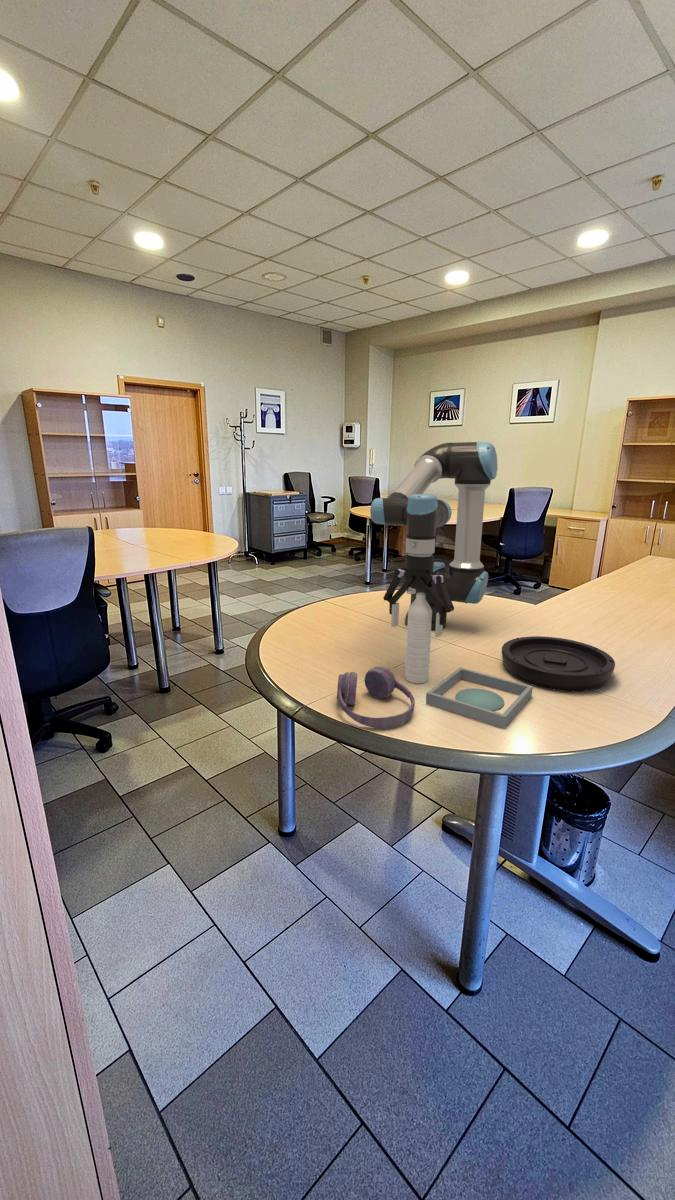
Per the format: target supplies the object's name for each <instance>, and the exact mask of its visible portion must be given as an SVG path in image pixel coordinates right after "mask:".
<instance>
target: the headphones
mask: <svg viewBox="0 0 675 1200" xmlns="http://www.w3.org/2000/svg"><path fill="white" fill-rule="evenodd" d="M364 675H365V676H364V685H365V688H366V690H367V691H368V693H369V694H370V695H371V696H372V697H374V698H376V699H381V700H382V699H387V698H388V697H389V696H390V695H391V694H392V693H393V692H394V690H395V689H396V690H399V691H400V692H401V693H402V694H404V695H405V696H406V697H407V699H409V700H410V706H409V708H408V709H407V710H406V711H404V712H402V713H399V714H396V715H389V716H384V717H370V716H365V715H361V714H358V713H356V712H354V711H352V710H351V709H349V708H348V707H347V705H349V706H354V705H355V704H356V697H357V688H358V687H357V683H358V673H357V672H354V671H346V672H344V673H343V674H339V675H338V680H337V689H336V690H337V691H336V692H337V693H336V699H337V700H338V704H339V707H340V708H341V710H342V711H343V712H344V713H345V714H346V715H347V716H348V717H350V718H351V719H352V720H353V721H355V722H356V723H359V724H361V725H363V726H366V727H369V728H373V729H379V730H380V729H381V730H388V729H389V730H390V729H393V728H398V727H401V726H403V725H404V724H406V723H407V722H409V721H410V719H411V718H412V716H413V713H414V711H415V704H416V699H415V697H414V695H413V694H412V692H411V691H410V689H408V687H407V686H405V685H404V684H403V683H401V682H400V681H398V680H397V679H396V677H395V674H394V673H393V672H392V670H390V668H389V667H385V666H375V667H372V668H369V670H368V671H367V672H366V673H365V674H364Z"/></svg>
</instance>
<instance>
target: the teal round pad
mask: <svg viewBox="0 0 675 1200" xmlns="http://www.w3.org/2000/svg"><path fill="white" fill-rule="evenodd" d="M454 697H455V700H458V701H461V702H465V703H468V704H471V705H474V706H478V707H481V708H484V709H488V710H491V711H494V712H496V711H499V710H501V709H502V708H503V707H505V700H504V698H503V697H502V696H501V695H499V694H498V693H496V692H494V691H490V690H488V689H481V688H465V689H461V690H460V691H458V692H457V693H456V694H455V696H454Z"/></svg>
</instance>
